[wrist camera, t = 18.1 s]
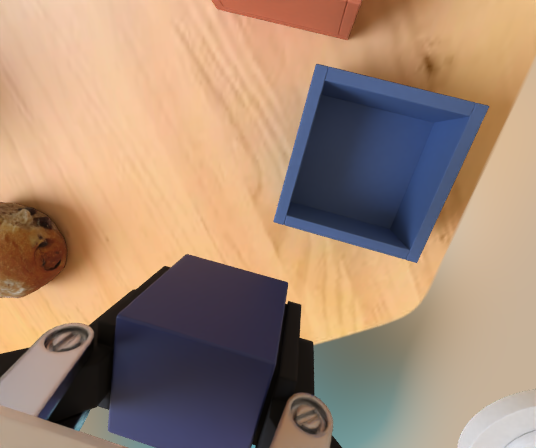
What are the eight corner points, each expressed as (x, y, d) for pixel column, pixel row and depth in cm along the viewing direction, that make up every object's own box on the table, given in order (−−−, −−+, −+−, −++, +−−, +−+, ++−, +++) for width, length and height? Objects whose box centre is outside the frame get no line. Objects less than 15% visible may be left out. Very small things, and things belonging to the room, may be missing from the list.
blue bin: (445, 115, 22) (489, 106, 16) (393, 237, 25) (417, 263, 19) (314, 82, 22) (316, 63, 17) (280, 206, 25) (273, 222, 20)
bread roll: (16, 206, 34) (-80, 233, 28) (36, 181, 27) (-83, 210, 21) (60, 275, 36) (-21, 315, 30) (89, 267, 29) (-7, 316, 23)
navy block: (288, 281, 11) (276, 363, 7) (264, 365, 12) (241, 478, 8) (186, 252, 11) (114, 314, 7) (173, 338, 13) (106, 432, 9)
